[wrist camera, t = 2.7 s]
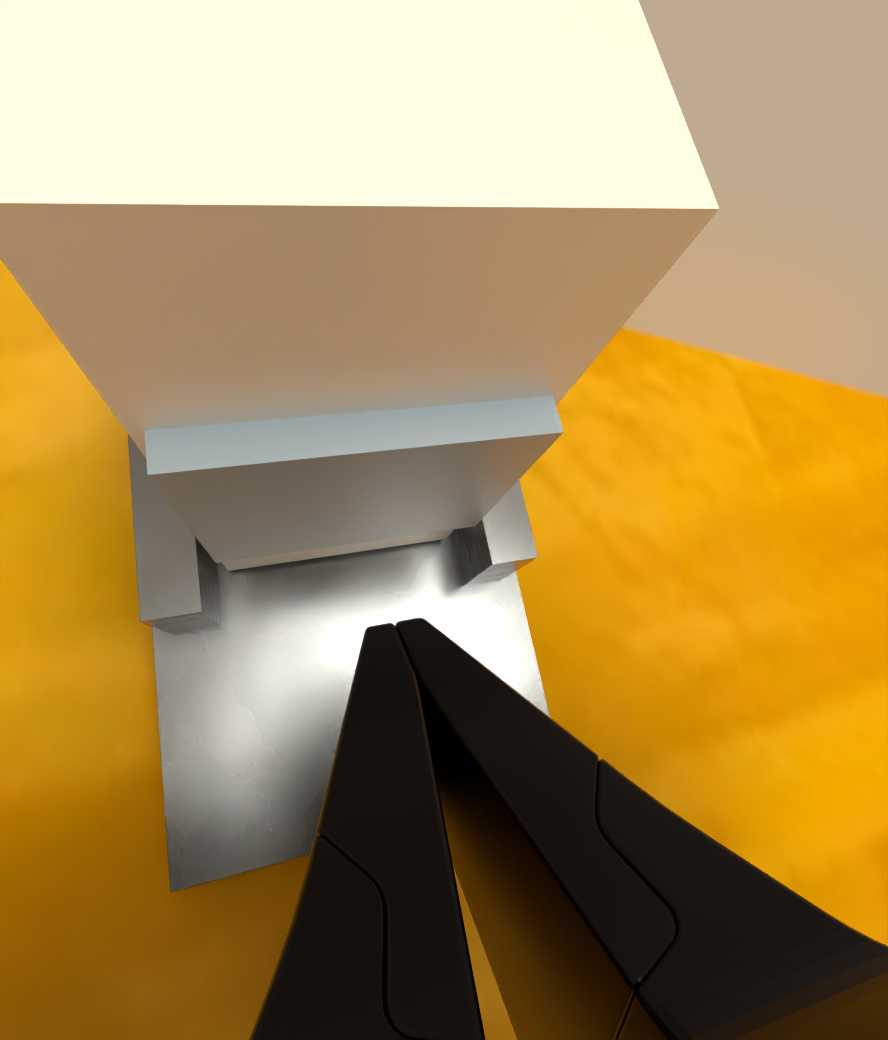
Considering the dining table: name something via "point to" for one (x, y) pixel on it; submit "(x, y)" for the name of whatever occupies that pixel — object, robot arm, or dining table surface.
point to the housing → (296, 666)
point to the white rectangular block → (338, 241)
